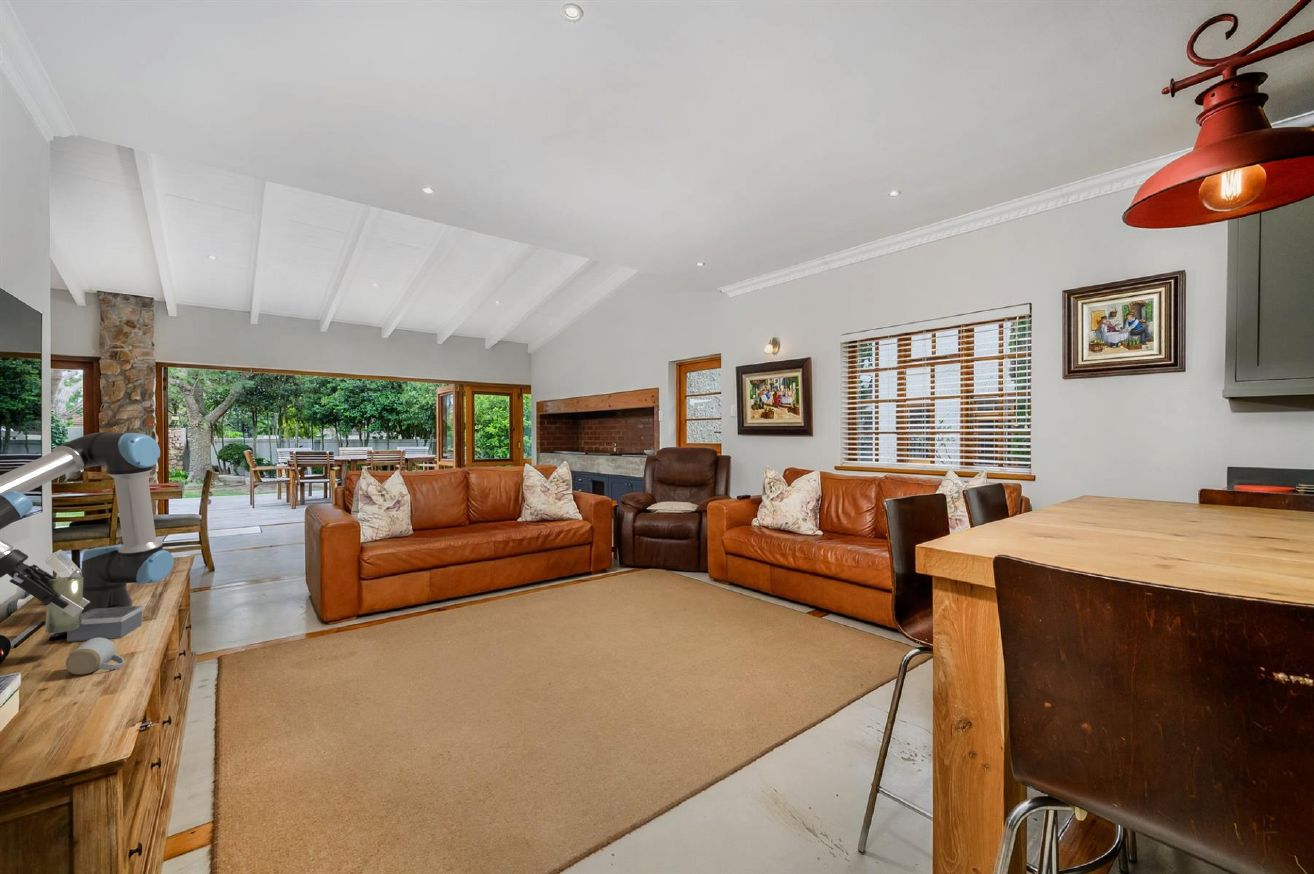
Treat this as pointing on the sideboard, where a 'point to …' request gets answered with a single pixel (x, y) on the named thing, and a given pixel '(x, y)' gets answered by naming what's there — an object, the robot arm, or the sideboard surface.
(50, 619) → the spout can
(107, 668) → the ceramic mug
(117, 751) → the sideboard surface
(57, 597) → the robot arm
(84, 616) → the grey rectangular tray
